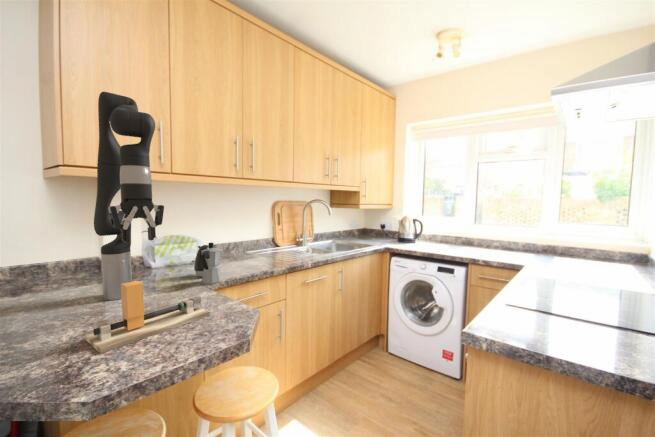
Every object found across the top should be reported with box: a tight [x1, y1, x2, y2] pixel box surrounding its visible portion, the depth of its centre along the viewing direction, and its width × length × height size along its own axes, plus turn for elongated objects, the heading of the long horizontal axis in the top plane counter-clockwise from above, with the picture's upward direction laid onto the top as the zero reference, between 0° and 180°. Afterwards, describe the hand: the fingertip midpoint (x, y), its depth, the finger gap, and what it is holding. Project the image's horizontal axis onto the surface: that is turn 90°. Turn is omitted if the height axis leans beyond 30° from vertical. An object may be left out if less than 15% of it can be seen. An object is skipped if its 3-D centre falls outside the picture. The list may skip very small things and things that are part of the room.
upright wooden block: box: [121, 280, 145, 330], centre depth 82 cm, size 4×4×12 cm
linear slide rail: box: [84, 295, 211, 354], centre depth 87 cm, size 12×29×5 cm, turn 143°
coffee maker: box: [201, 242, 223, 285], centre depth 132 cm, size 15×9×18 cm, turn 178°
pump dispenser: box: [193, 244, 209, 278], centre depth 143 cm, size 10×10×15 cm
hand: (139, 241), depth 85 cm, fingers open, 5 cm apart
